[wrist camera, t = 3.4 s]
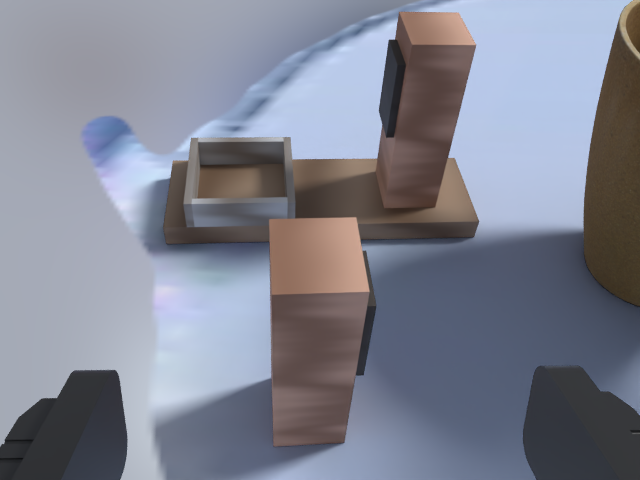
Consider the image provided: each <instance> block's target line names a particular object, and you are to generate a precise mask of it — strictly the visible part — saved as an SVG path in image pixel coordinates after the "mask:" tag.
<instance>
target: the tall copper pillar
mask: <svg viewBox="0 0 640 480" xmlns="http://www.w3.org/2000/svg"><path fill="white" fill-rule="evenodd" d="M269 242H270V309H271V377H272V413H273V447H276V446H294V445H312V444H331V443H344V441H345V435H346V429H347V423H348V417H349V411H350V405H351V400H352V394H353V388H354V382H355V376H357V375H364V370H365V364H366V359H367V354H368V348H369V343H370V337H371V332H372V327H373V321H374V316H375V310H376V302H375V296H374V291H373V286H372V280H371V275H370V269H369V264H368V259H367V253H366V251H362V247H361V241H360V235H359V230H358V224H357V219H356V217H350V218H299V219H269Z"/></svg>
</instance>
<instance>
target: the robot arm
mask: <svg viewBox="0 0 640 480" xmlns="http://www.w3.org/2000/svg"><path fill="white" fill-rule="evenodd" d="M523 444H524V450H525V455H526V458H527V461H528V463H529V465H530V467H531V469H532V471H533V473H534V476H535V478H536V480H640V416H639V414H638V413H637V412H636V411H635V410H634V409H633V408H632V407H630V406H629V405H628V404H626V403H625V402H623V401H622V400H621V399H619V398H618V397H616V396H615V395H613V394H612V393H611V392H600V390H599V389H598V388H597V386H596V385H595V384H594V383H593V381H592V380H591V379H590V377H589V376H588V375H587V373H586V372H585V371H584V369H583V368H581V367H580V366H539V367H537V369H536V370H535V373H534V376H533V381H532V386H531V391H530V397H529V402H528V407H527V412H526V418H525V423H524V429H523ZM126 455H127V431H126V424H125V416H124V409H123V401H122V394H121V387H120V381H119V376H118V373H117V372H116V371H115V370H84V371H83V370H80V371H79V370H78V371H77V370H76V371H73V372H72V373H71V374H70V376H69V378H68V380H67V382H66V384H65V385H64V387H63V389H62V390H61V392H60V394H59V396H58V398H49V399H48V398H44V399H41V400H40V401H39V402H37V403H36V404H35V405H33V406H32V407H31V408H30V409H29V410H27V411H26V412H25V413H24V414H22V415H21V416H20V417H19V418H18V420H17V421H16V423H15V424H14V426H13V428H12V429H11V431H10V432H9V434H8V436H7V437H6V439H5V443H4V444H2V445H1V447H0V480H120V479H121V476H122V473H123V470H124V466H125V461H126Z"/></svg>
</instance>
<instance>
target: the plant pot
mask: <svg viewBox="0 0 640 480" xmlns="http://www.w3.org/2000/svg"><path fill="white" fill-rule="evenodd" d="M584 256H585V261H586V264H587V267H588V269H589V271H590V272H591V274H592V275H593V276H594V278H595V279H596V280H597V281H598V282H599V283H600V284H601V285H602V286H603V287H604V288H606V289H607V290H608V291H609V292H611V293H612V294H614V295H615V296H617V297H619V298H621V299H623V300H624V301H626V302H629V303H631V304H634V305H636V306H640V0H633V1H632V2H630V3H629V4H628V5H627V6H626V7H625V8H624V9H623V11H622V13H621V15H620V18H619V21H618V25H617V28H616V32H615V35H614V39H613V43H612V47H611V51H610V55H609V59H608V63H607V67H606V71H605V75H604V79H603V84H602V88H601V92H600V97H599V101H598V106H597V110H596V116H595V121H594V127H593V132H592V138H591V144H590V151H589V158H588V166H587V175H586V186H585V197H584Z"/></svg>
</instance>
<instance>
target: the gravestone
mask: <svg viewBox="0 0 640 480" xmlns="http://www.w3.org/2000/svg"><path fill="white" fill-rule="evenodd" d="M475 48H476V44H475V42H474V40H473V38H472V36H471V35H470V33H469V31H468V29H467V27H466V25H465V24H464V22H463V20H462V18H461V16H460V14H459V13H445V12H399V17H398V23H397V30H396V37H395V40H389V42H388V50H387V57H386V64H385V71H384V78H383V85H382V92H381V99H380V106H379V113H380V117H381V121H382V124H383V125H382V131H381V138H380V145H379V152H378V158H377V159H299V160H292V152H291V139H290V137H255V138H191V143H190V152H189V161H173V164H172V171H171V178H170V185H169V191H168V198H167V205H166V212H165V219H164V226H163V229H164V235H165V240H166V244H186V243H231V242H269V219H299V218H350V217H356V219H357V224H358V230H359V235H360V240H366V239H411V238H456V237H474V235H475V232H476V229H477V226H478V223H479V220H478V217H477V215H476V212H475V210H474V207H473V204H472V202H471V199H470V197H469V194H468V191H467V189H466V186H465V184H464V181H463V179H462V176H461V173H460V171H459V168H458V166H457V163H456V161H455V158H448V155H449V151H450V147H451V143H452V139H453V135H454V131H455V127H456V123H457V120H458V116H459V112H460V108H461V104H462V100H463V96H464V92H465V88H466V84H467V80H468V76H469V72H470V68H471V64H472V60H473V56H474V52H475Z"/></svg>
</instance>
